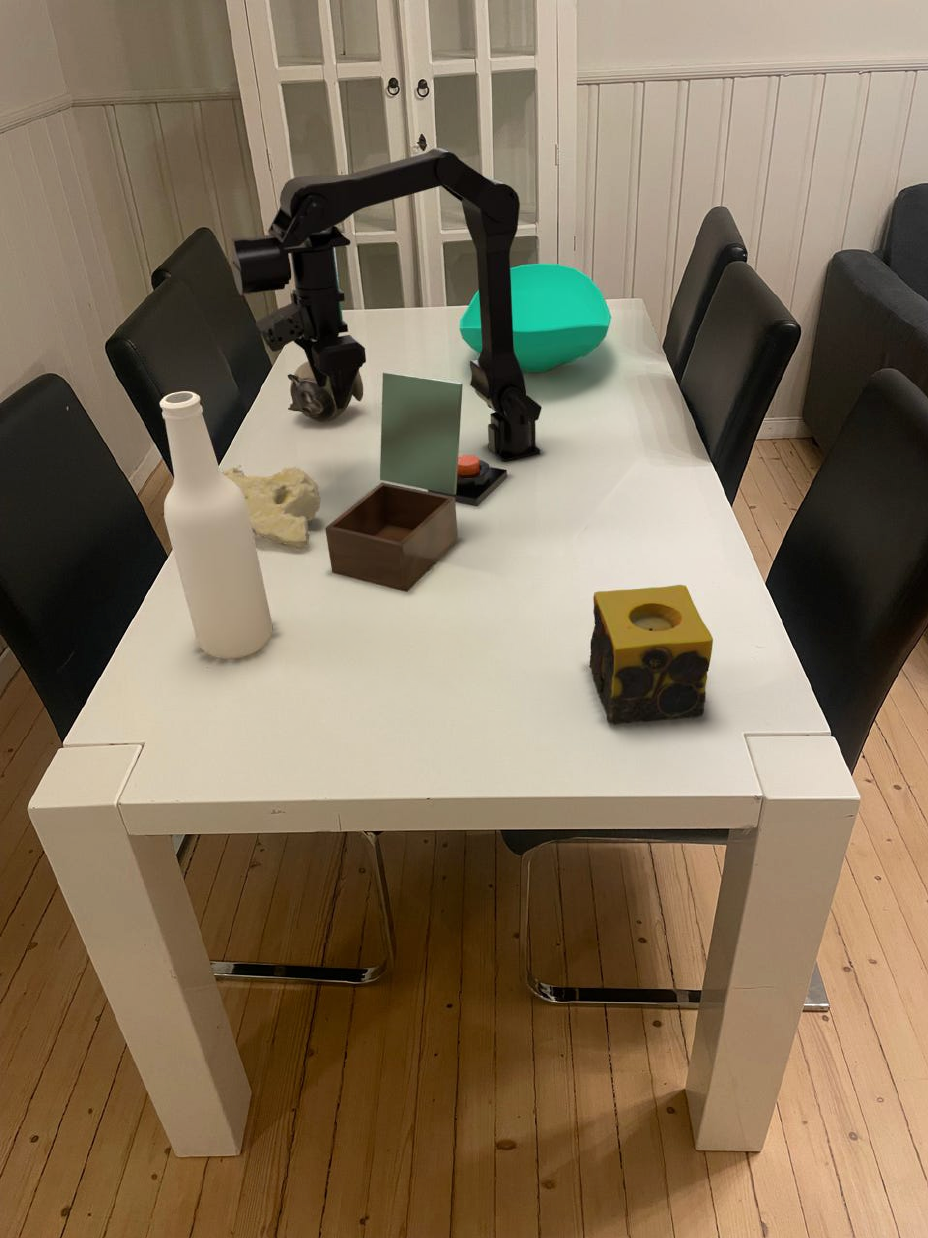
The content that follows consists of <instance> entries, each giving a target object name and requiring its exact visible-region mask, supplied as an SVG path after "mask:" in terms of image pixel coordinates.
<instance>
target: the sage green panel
mask: <svg viewBox="0 0 928 1238" xmlns="http://www.w3.org/2000/svg"><path fill="white" fill-rule="evenodd" d="M381 384H382V388H381V389H382V391H381V424H380V425H381V427H380V430H381V431H380V458H379V459H380V461H379V480H380V481H384V482H388V483H392V484H393V483H394V484H399V485H403V486H406V487H407V486H408V487H412V488H417V489H423V490H426V491H428V490H432V491H437V492H442V493H447V494H452V495H455V494H456V488H457V471H458V457H459V452H460V437H461V421H462V401H463V388H464V387H463V383H461V382H456V381H455V382H454V381H448V380H441V379H433V378H427V377H420V376H413V375H409V374H408V375H407V374H400V373H393V372H388V371H387V372H386V371H384V372H382V383H381Z"/></svg>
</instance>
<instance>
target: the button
mask: <svg viewBox="0 0 928 1238" xmlns="http://www.w3.org/2000/svg"><path fill="white" fill-rule="evenodd" d="M479 460H480V458H479V457H478V456H477V455H473V454H463V455H458V471H457V474H460V475H472V474H475V473H478V472H479V471H480V466H479Z"/></svg>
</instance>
